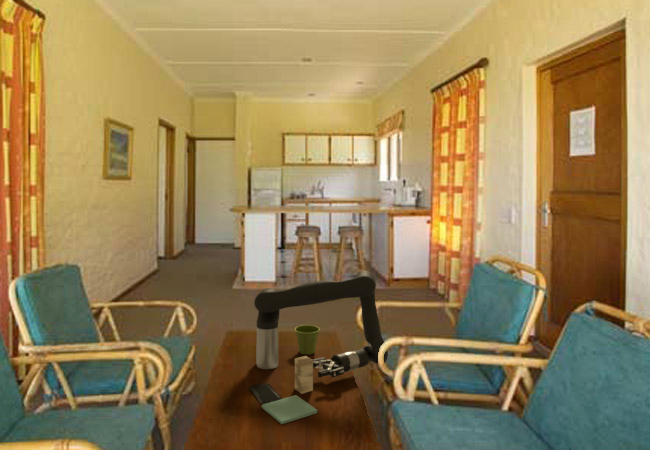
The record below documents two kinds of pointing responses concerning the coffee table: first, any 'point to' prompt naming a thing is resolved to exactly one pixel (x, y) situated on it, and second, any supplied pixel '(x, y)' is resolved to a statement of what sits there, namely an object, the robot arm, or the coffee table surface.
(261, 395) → the phone
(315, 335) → the plant pot
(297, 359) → the birch block
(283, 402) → the green square tile
